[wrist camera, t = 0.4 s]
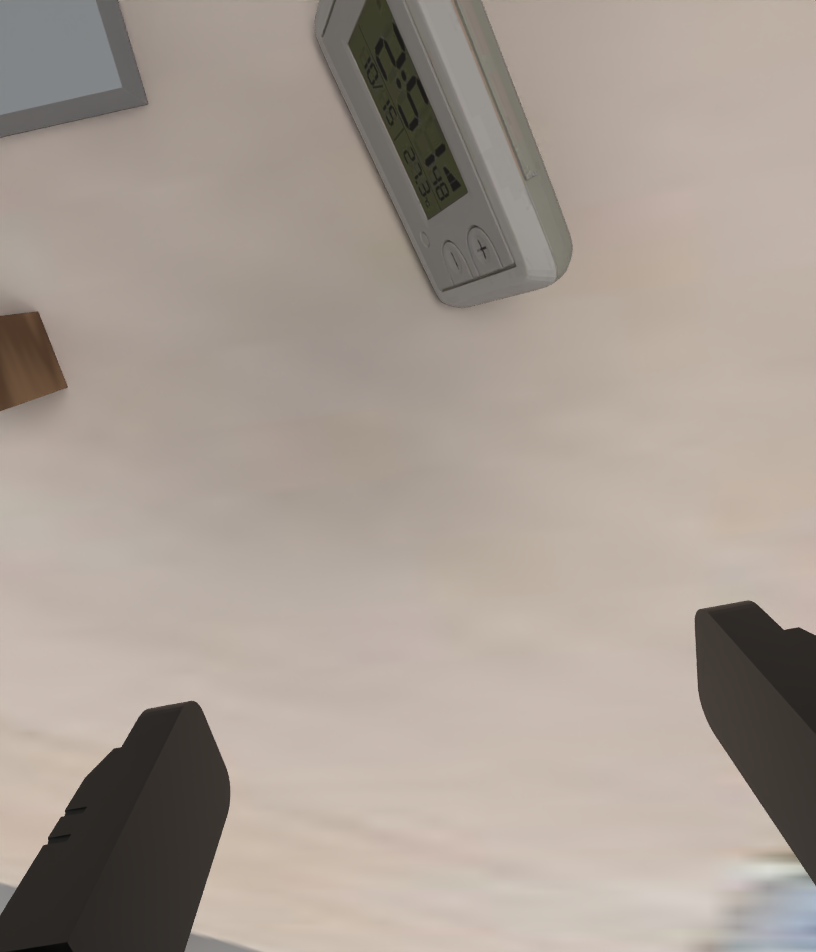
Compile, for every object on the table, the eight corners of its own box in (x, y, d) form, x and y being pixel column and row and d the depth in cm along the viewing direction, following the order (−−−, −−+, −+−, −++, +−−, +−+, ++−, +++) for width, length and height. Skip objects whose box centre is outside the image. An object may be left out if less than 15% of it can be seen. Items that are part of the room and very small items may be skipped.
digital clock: (307, 3, 29) (258, -136, 19) (483, -57, 28) (528, -233, 18) (396, 324, 34) (394, 348, 24) (546, 282, 34) (608, 287, 24)
